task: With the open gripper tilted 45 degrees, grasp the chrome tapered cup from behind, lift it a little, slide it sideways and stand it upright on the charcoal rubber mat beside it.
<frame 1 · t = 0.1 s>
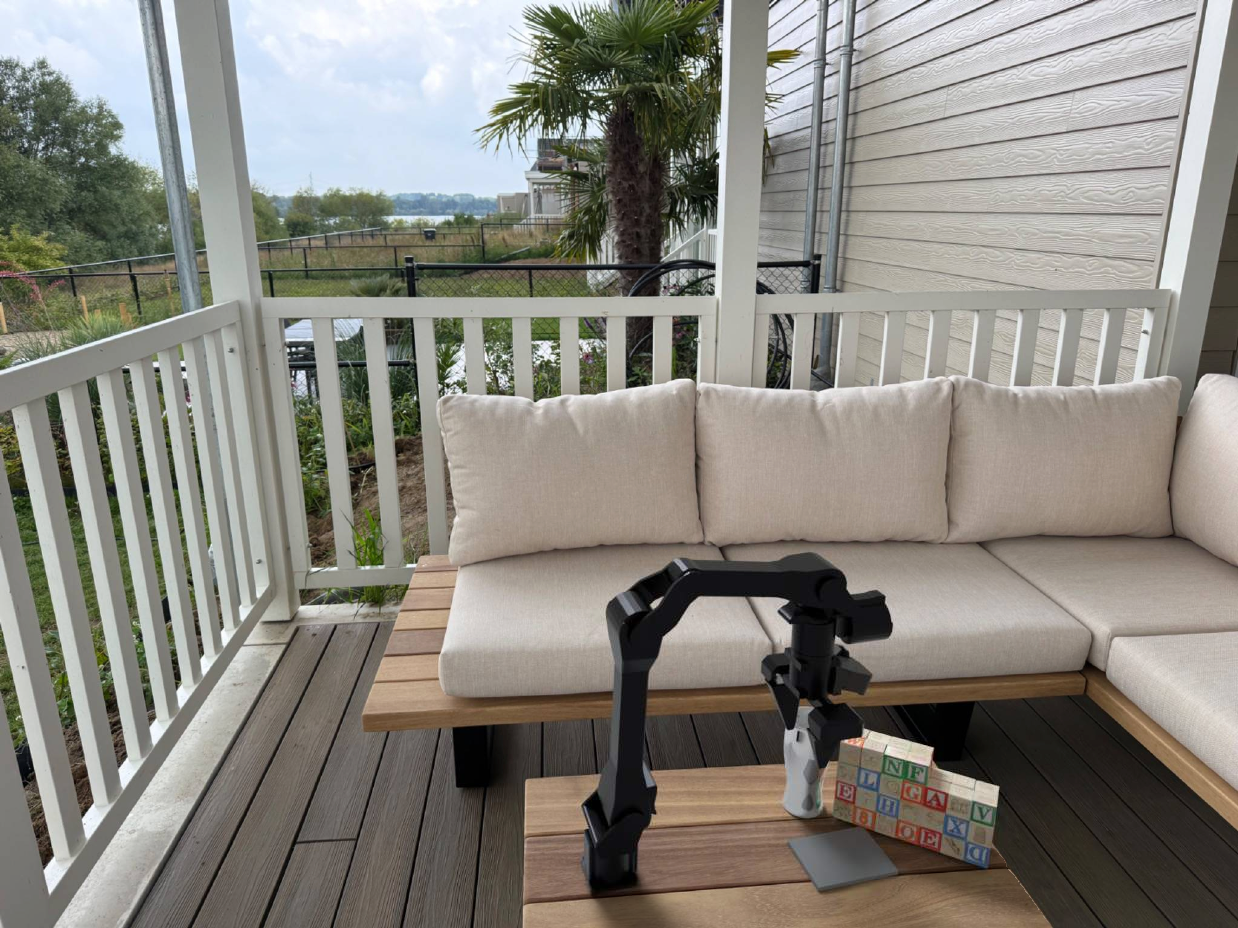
hand: (805, 747, 112), 15 cm above the table, tool pointing down, fingers open, 9 cm apart
charcoal mat: (841, 858, 112), on the table
chrome tapered cup: (802, 805, 123), on the table
stack of blocks: (909, 832, 117), on the table, touching charcoal mat
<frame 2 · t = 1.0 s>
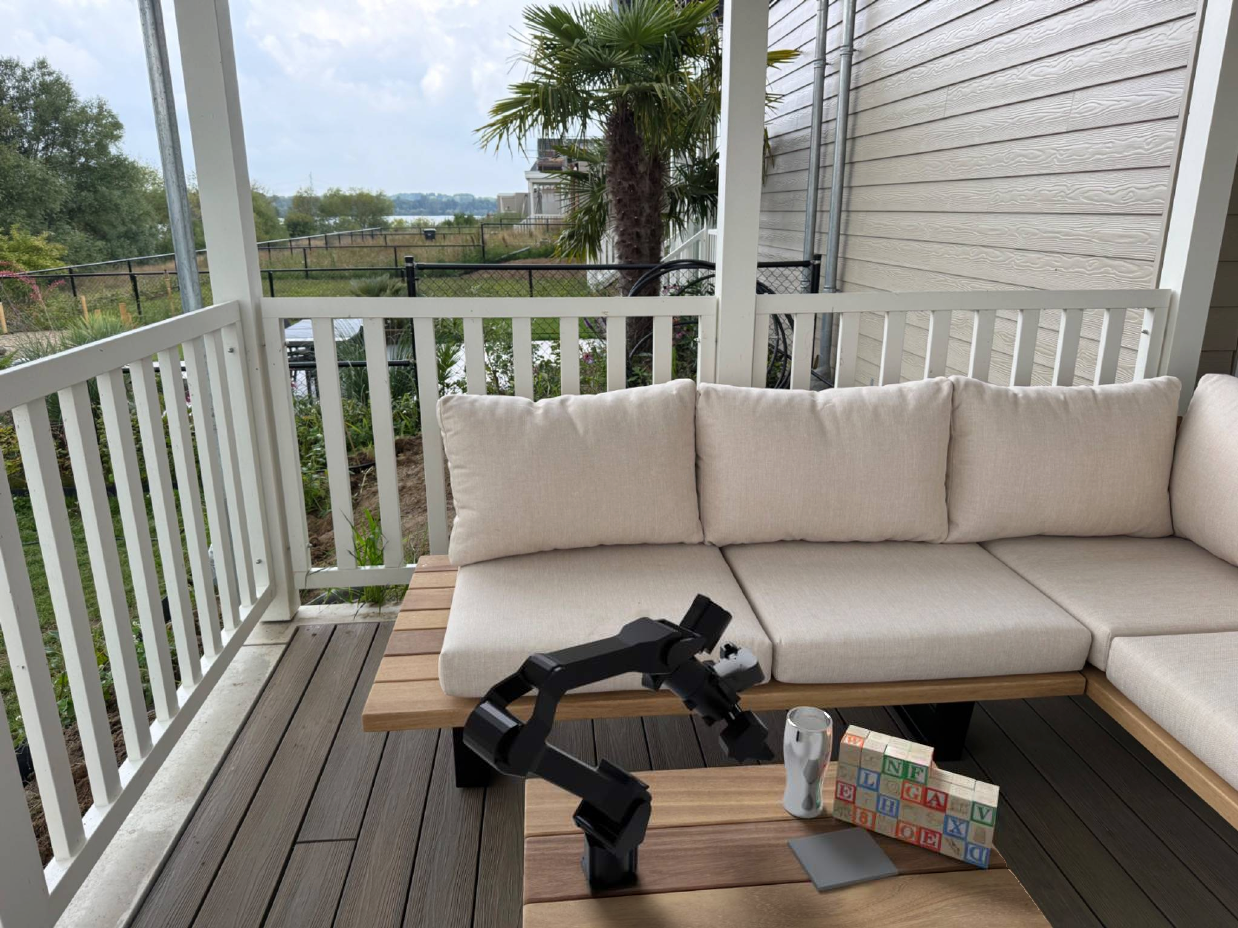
hand: (758, 738, 117), 13 cm above the table, tool tilted 45°, fingers open, 9 cm apart
nothing on the table moved.
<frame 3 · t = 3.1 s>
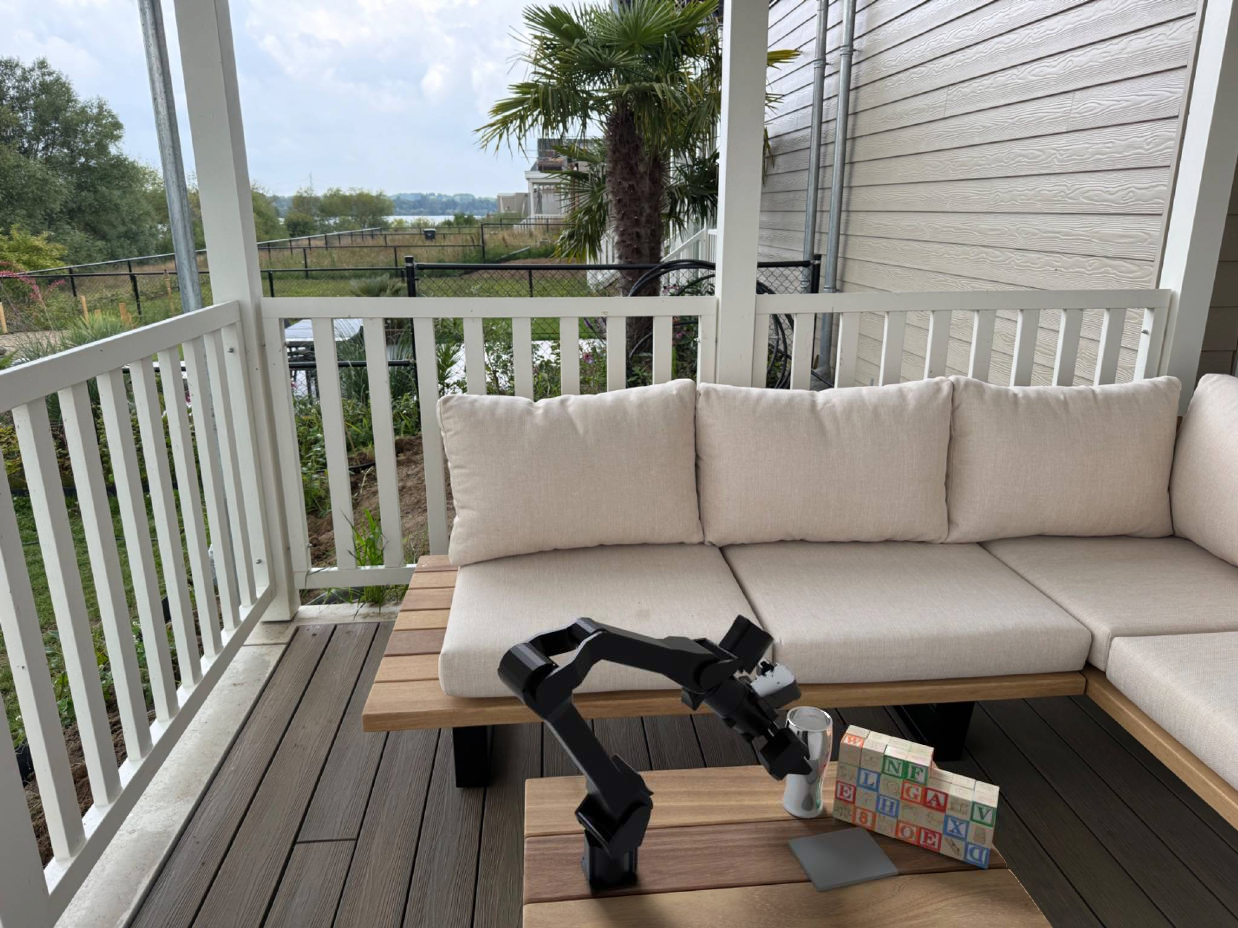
hand: (795, 752, 120), 9 cm above the table, tool tilted 45°, fingers open, 9 cm apart
nothing on the table moved.
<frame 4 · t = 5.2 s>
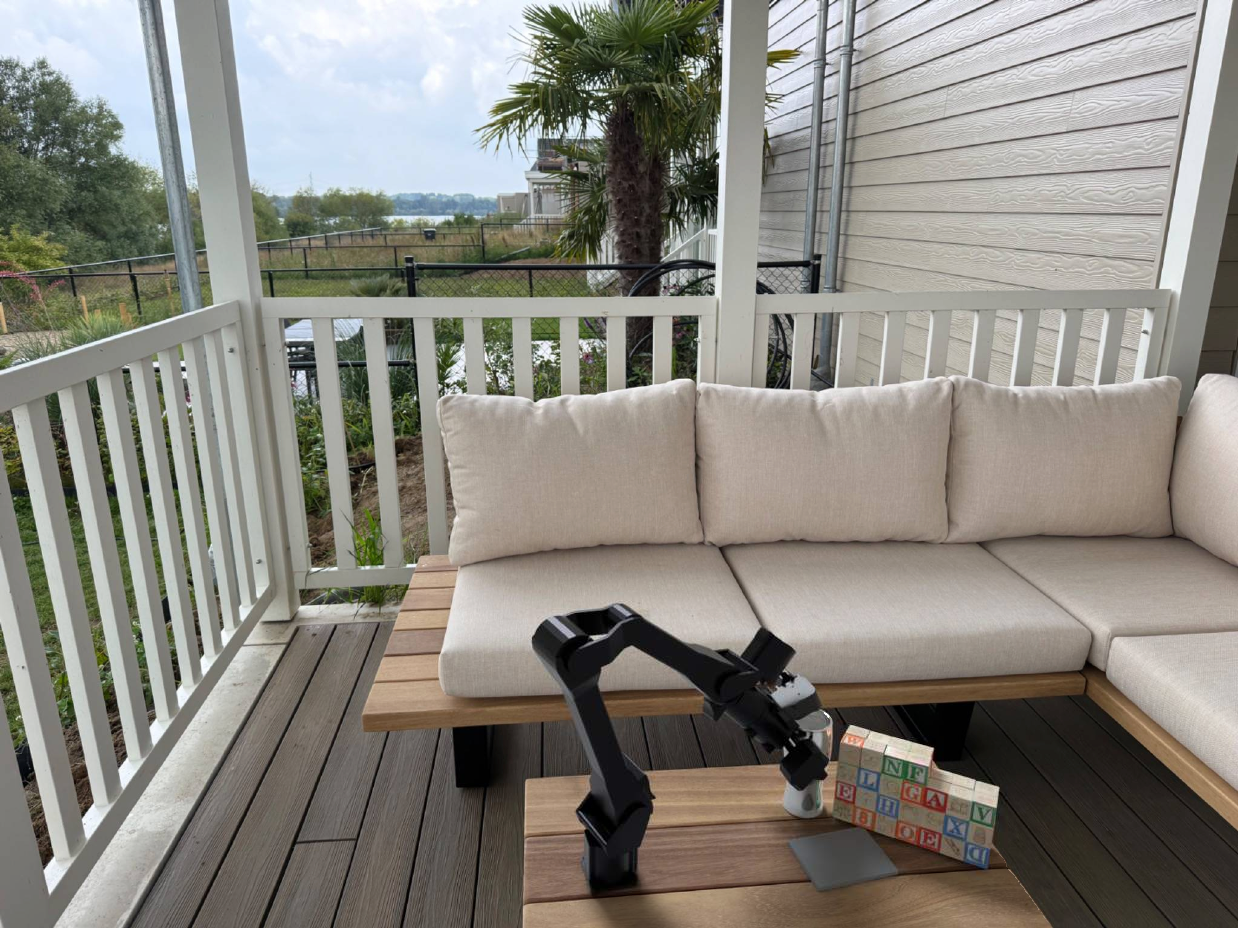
hand: (814, 763, 121), 7 cm above the table, tool tilted 45°, fingers closed on chrome tapered cup, 6 cm apart
chrome tapered cup: (802, 805, 123), on the table, touching gripper
everything else where it was.
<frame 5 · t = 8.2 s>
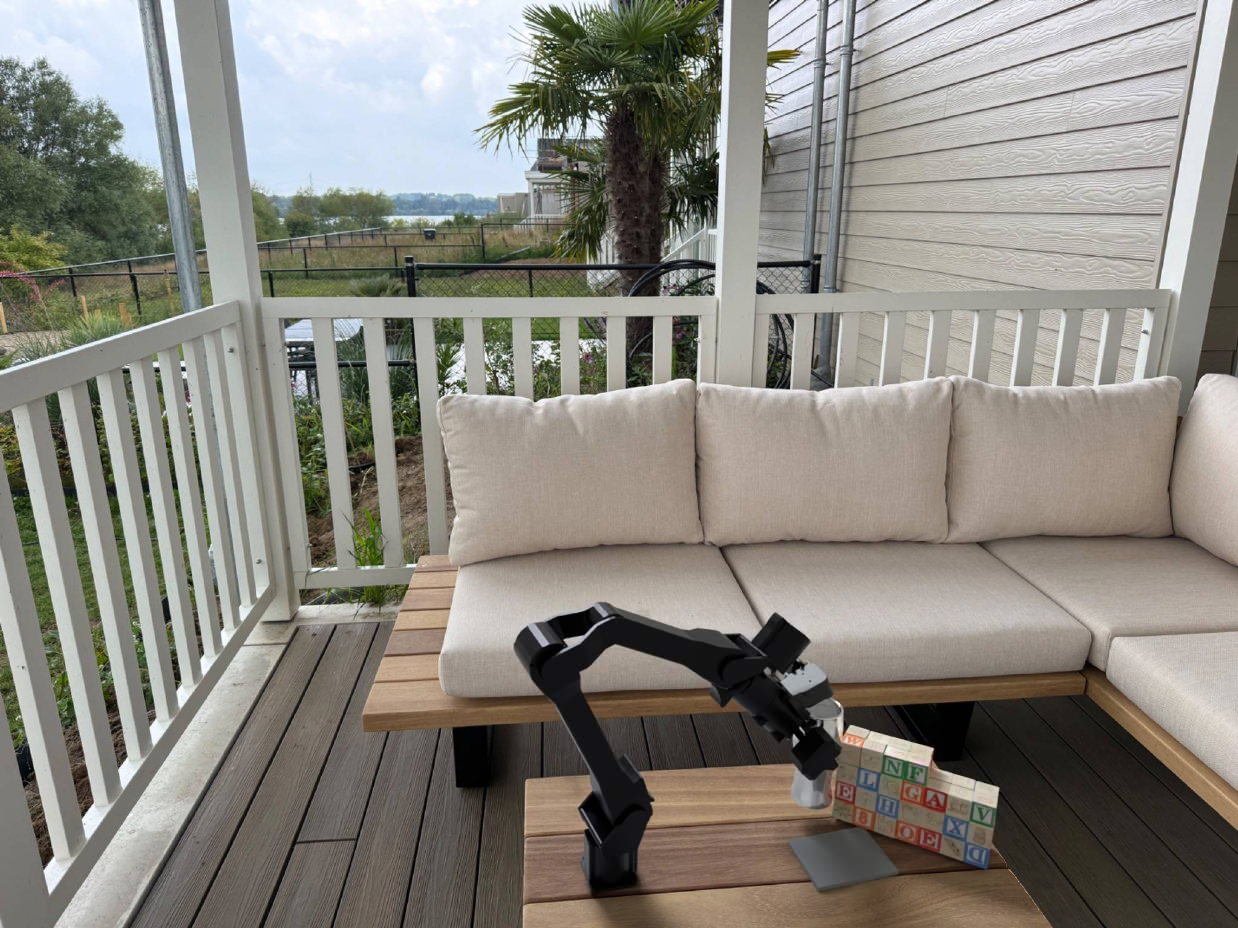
hand: (824, 753, 117), 11 cm above the table, tool tilted 45°, fingers closed on chrome tapered cup, 6 cm apart
chrome tapered cup: (811, 797, 119), point 3 cm above the table, touching gripper
everything else where it was.
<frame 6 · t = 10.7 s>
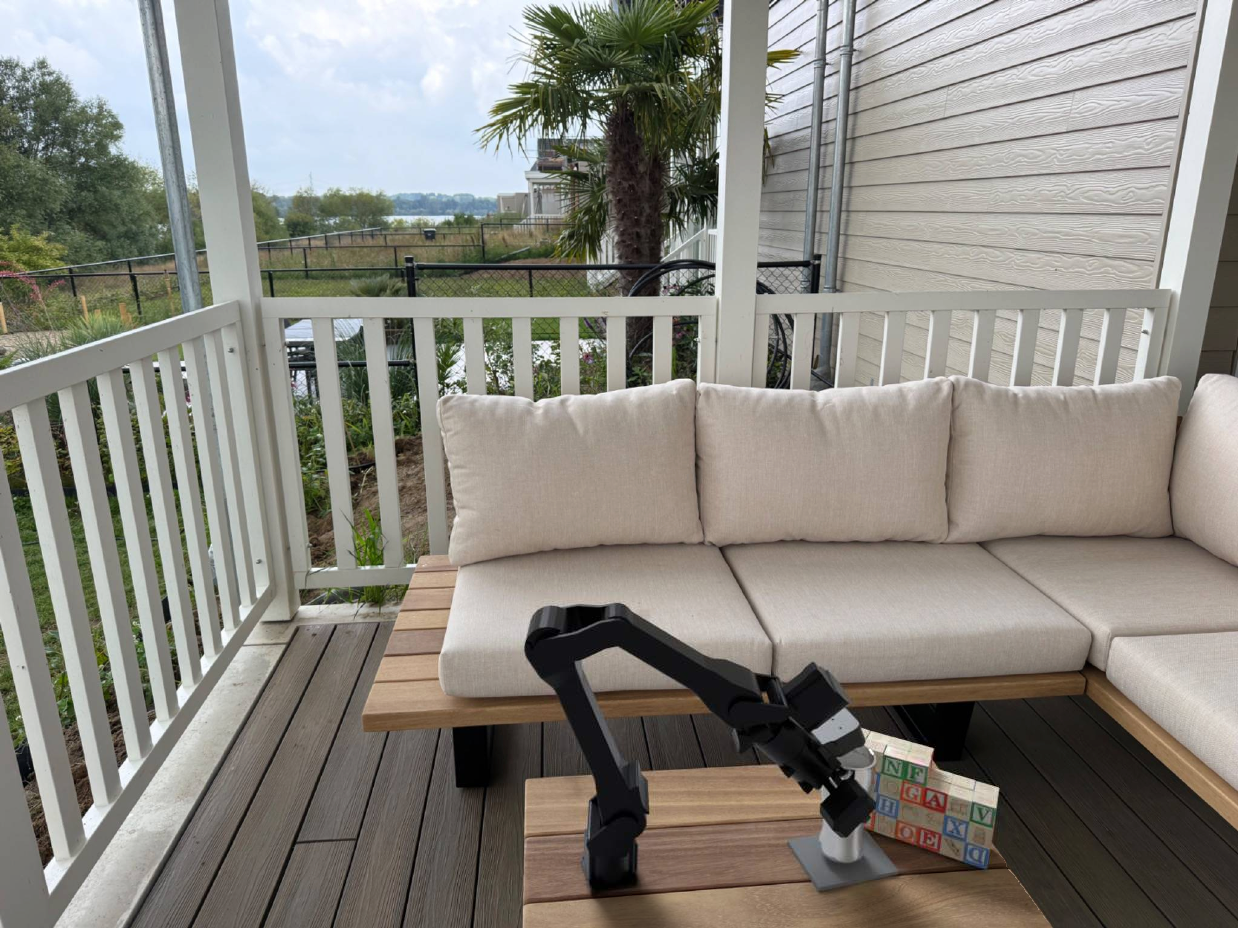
hand: (854, 802, 110), 9 cm above the table, tool tilted 45°, fingers closed on chrome tapered cup, 6 cm apart
chrome tapered cup: (840, 849, 111), point 2 cm above the table, touching gripper
everything else where it was.
when the fingers open (8 cm above the table, at t = 11.7 s): chrome tapered cup stays where it is, resting on charcoal mat.
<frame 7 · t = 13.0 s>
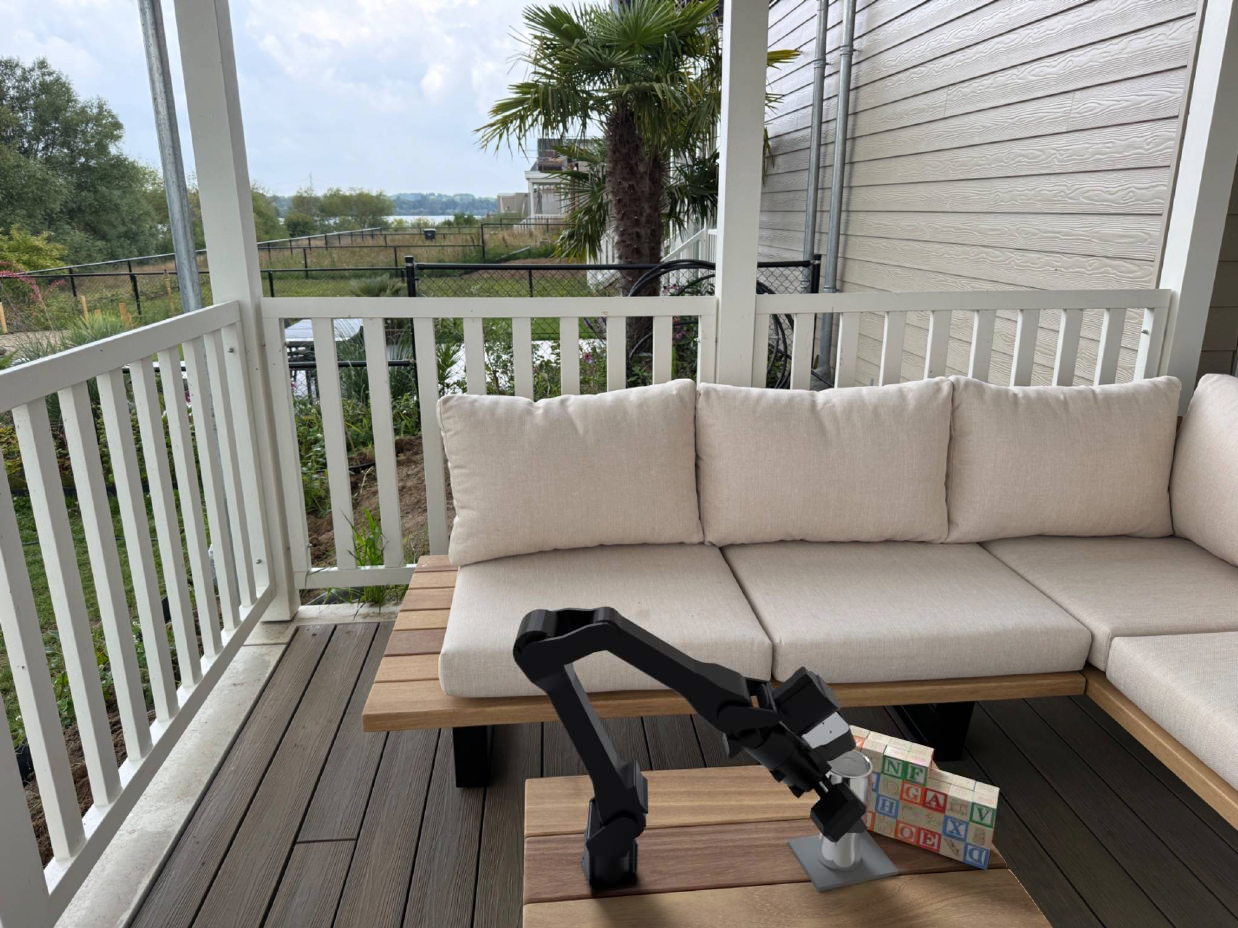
hand: (845, 806, 110), 8 cm above the table, tool tilted 45°, fingers open, 9 cm apart
chrome tapered cup: (837, 856, 112), resting on charcoal mat
everything else where it was.
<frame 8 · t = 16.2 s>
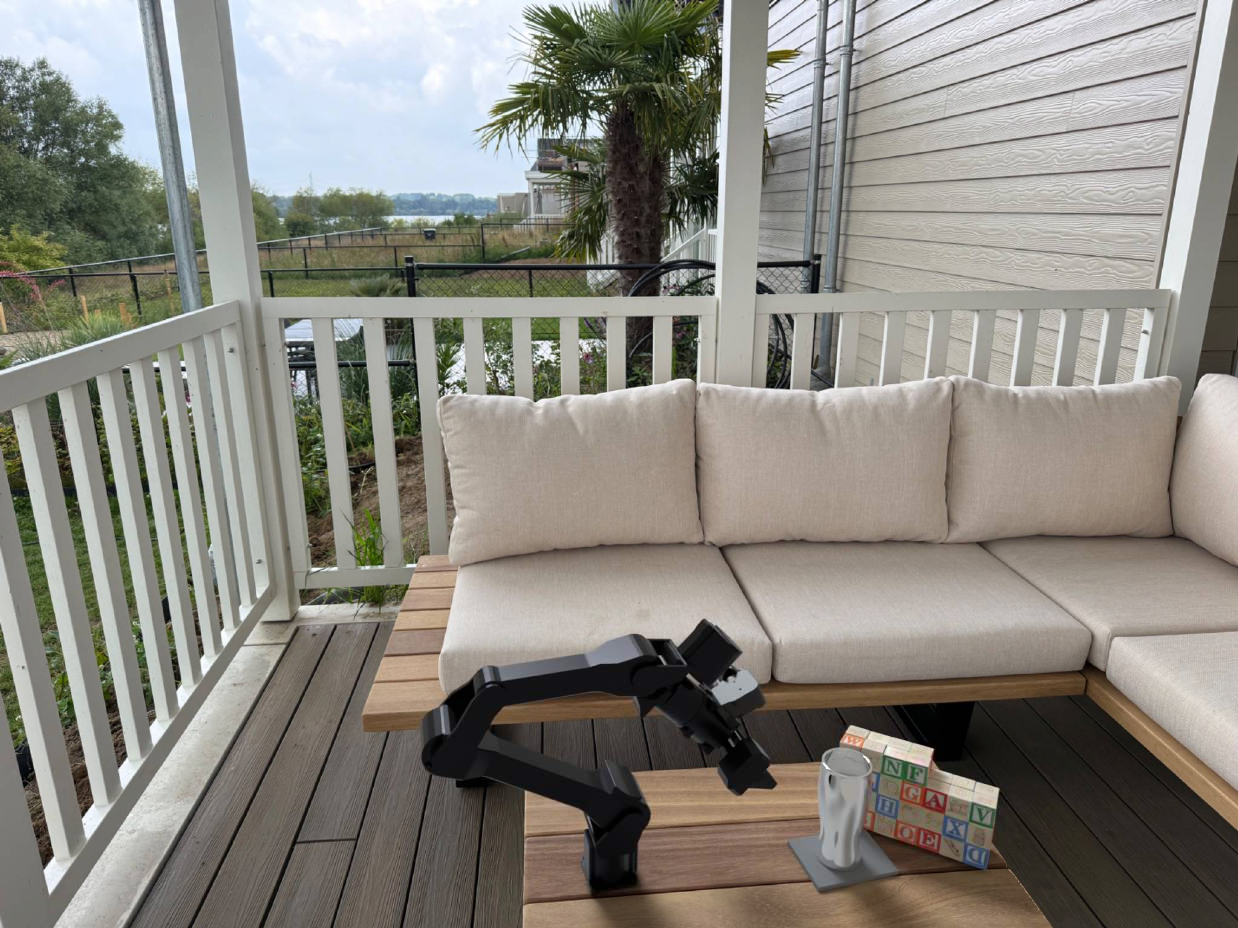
hand: (760, 764, 111), 13 cm above the table, tool tilted 45°, fingers open, 9 cm apart
nothing on the table moved.
at the end: chrome tapered cup 0.6 cm off-centre on the charcoal mat, point 0.4 cm above the charcoal mat's base; chrome tapered cup tilted 0°; the gripper is holding nothing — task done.
